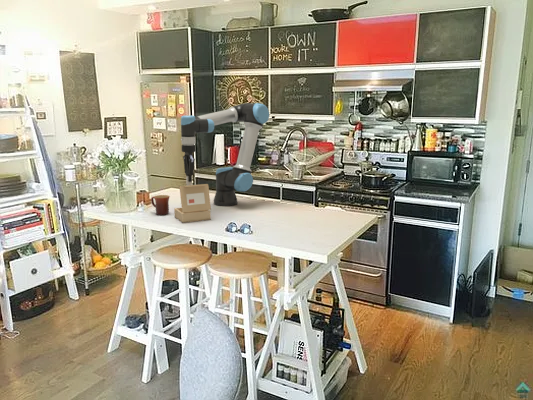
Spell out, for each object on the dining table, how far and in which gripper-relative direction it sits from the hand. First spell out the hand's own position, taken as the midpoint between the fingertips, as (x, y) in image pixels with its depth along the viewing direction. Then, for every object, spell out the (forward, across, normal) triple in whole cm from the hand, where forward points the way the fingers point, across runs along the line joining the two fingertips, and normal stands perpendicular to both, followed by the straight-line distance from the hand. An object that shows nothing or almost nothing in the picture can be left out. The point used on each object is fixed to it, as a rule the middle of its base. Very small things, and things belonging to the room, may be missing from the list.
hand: (189, 187), depth 248 cm
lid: (+5, +8, 0) cm, 10 cm away
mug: (+17, -15, -13) cm, 26 cm away
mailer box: (+17, +3, 0) cm, 17 cm away
